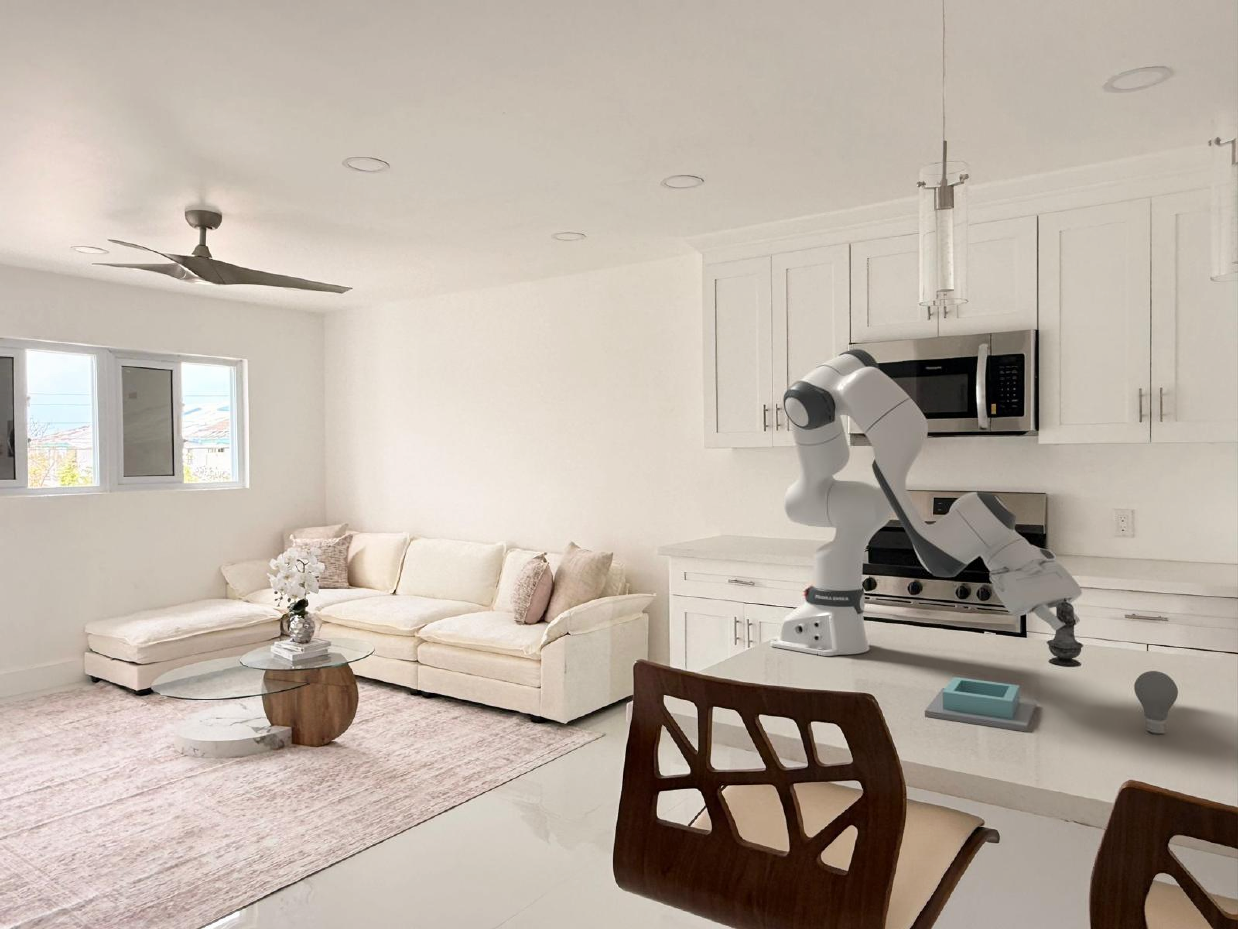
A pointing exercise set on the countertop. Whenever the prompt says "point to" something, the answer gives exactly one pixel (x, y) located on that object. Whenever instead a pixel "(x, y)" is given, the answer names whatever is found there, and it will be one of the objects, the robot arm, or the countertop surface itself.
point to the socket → (982, 704)
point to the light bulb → (1155, 698)
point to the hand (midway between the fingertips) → (1068, 626)
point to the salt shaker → (1065, 639)
